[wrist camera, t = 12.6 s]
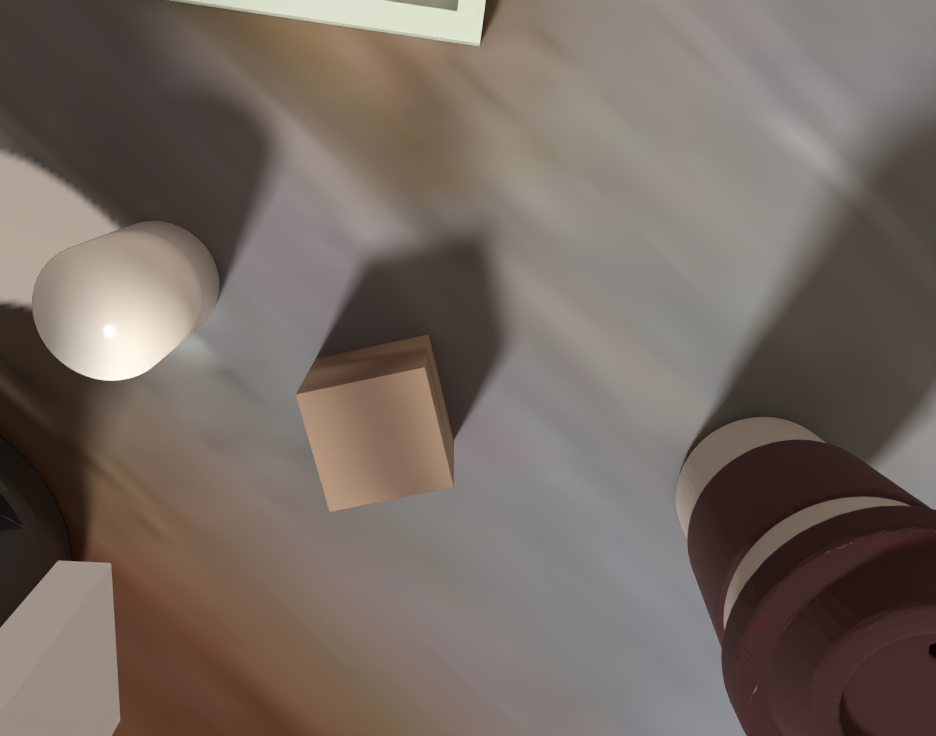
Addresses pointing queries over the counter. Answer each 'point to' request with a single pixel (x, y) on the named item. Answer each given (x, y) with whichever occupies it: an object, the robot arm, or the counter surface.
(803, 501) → the coffee cup
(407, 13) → the tray
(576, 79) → the counter surface
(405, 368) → the wooden cube
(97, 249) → the white cylinder
